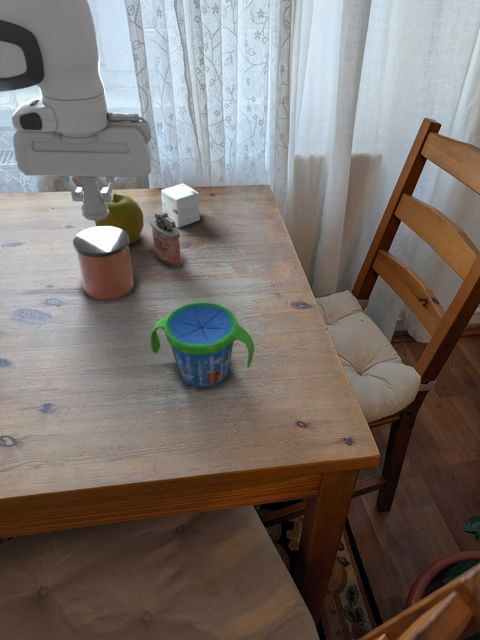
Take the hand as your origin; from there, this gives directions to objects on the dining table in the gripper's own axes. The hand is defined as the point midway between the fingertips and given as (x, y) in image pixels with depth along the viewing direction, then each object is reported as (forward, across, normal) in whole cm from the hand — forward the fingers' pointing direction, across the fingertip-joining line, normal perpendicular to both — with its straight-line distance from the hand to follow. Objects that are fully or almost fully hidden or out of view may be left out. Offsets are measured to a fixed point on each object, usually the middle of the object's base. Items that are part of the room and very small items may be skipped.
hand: (93, 200), depth 86 cm
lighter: (+18, -10, -10) cm, 23 cm away
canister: (+18, 0, 0) cm, 18 cm away
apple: (+18, 0, -17) cm, 25 cm away
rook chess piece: (+3, 0, 0) cm, 3 cm away
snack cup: (+18, -18, +23) cm, 34 cm away
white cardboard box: (+18, -12, -26) cm, 34 cm away
